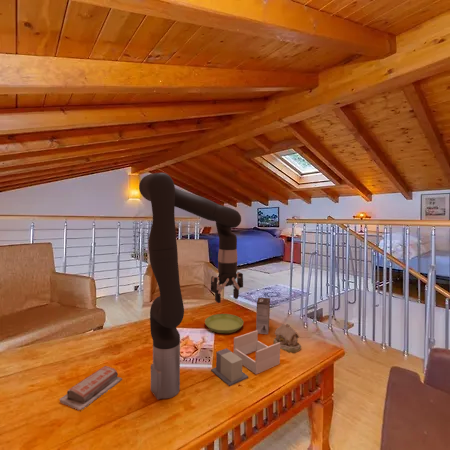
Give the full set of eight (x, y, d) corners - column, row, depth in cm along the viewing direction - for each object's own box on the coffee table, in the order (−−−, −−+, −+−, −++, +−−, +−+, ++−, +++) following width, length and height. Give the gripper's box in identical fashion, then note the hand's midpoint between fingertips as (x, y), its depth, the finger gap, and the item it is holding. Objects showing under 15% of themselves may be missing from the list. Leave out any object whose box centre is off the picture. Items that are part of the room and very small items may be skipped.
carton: (256, 374, 112) (256, 352, 112) (233, 358, 124) (233, 337, 123) (279, 363, 120) (280, 342, 119) (256, 349, 131) (256, 330, 131)
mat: (229, 386, 105) (229, 384, 105) (211, 370, 114) (211, 369, 114) (248, 377, 110) (248, 376, 110) (229, 363, 120) (229, 362, 120)
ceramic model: (268, 341, 139) (269, 321, 139) (285, 336, 145) (286, 317, 144) (288, 355, 127) (289, 333, 127) (307, 348, 133) (308, 327, 132)
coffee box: (257, 326, 157) (258, 296, 155) (269, 327, 155) (270, 297, 154) (255, 333, 148) (256, 302, 146) (268, 334, 146) (269, 303, 145)
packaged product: (102, 362, 111) (122, 368, 107) (102, 374, 111) (122, 381, 107) (58, 389, 94) (80, 398, 91) (59, 403, 95) (80, 413, 91)
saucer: (199, 323, 160) (199, 317, 160) (232, 316, 169) (232, 311, 169) (214, 339, 141) (214, 332, 141) (250, 331, 151) (250, 325, 150)
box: (231, 381, 106) (231, 363, 106) (216, 368, 114) (216, 351, 114) (242, 377, 109) (242, 359, 109) (226, 364, 117) (226, 348, 117)
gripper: (218, 264, 107) (217, 306, 108) (247, 259, 115) (247, 299, 116) (207, 260, 113) (206, 301, 114) (236, 256, 121) (235, 294, 122)
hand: (227, 300), depth 115 cm, fingers open, 8 cm apart
